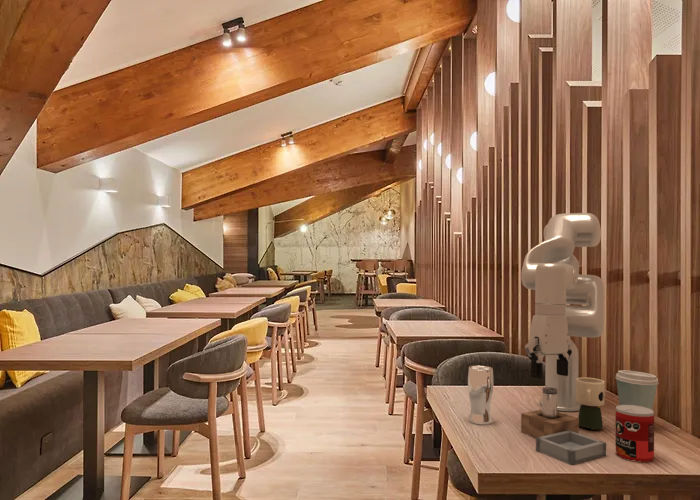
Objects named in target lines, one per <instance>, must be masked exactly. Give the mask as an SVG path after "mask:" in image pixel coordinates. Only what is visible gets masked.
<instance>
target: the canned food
mask: <svg viewBox="0 0 700 500" xmlns="http://www.w3.org/2000/svg"><path fill="white" fill-rule="evenodd" d="M615 453H616V455H617V456H618V457H619V456H620V458H621V457H622V458H621V459H624V458H625V459H624V460H626V459H629V460H628V461H630V460H635V461H641V462H640V463H649V462H648V461H650V462H651V461H652V462H653V460H654V457H655V412H654V410H653V409H652V410H651V409H649V408H646V407H641V406H635V405H620V404H618V405H616V406H615ZM635 461H634V462H635Z"/></svg>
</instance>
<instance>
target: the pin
mask: <svg viewBox="0 0 700 500" xmlns="http://www.w3.org/2000/svg"><path fill="white" fill-rule="evenodd" d="M541 392H542V393H541V394H542V396H541V397H542V398H541V399H542V405H541V406H542V408H541V410H542V417H545V418H548V419H551V420H552V419H557V412H558V410H557V389H556V388H551V387H542V391H541Z"/></svg>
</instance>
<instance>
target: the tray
mask: <svg viewBox="0 0 700 500" xmlns="http://www.w3.org/2000/svg"><path fill="white" fill-rule="evenodd" d="M535 451H537V452H538V453H541V454H545V455H547V456H549V457H552V458H553V459H556V460H559V461H562V462H564V463H566V464H568V465H571V466H573V465H576V464H581V463H584V462H587V461H591V460H594V459H598V458H599V459H600V458H602V457H606V456H607V442H605V441H602V440H599V439H596V438H593V437H591V436H587V435H584V434H582V433H580V432H579V433H576V432H573V431H570V430H568V431H564V432H559V433H555V434H550V435H546V436H541V437H537V438H535Z"/></svg>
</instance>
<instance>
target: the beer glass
mask: <svg viewBox="0 0 700 500" xmlns="http://www.w3.org/2000/svg"><path fill="white" fill-rule="evenodd" d="M467 389H468V390H467V391H468V397H469V401H470V402H469V403H470V413H469V417H468V421H469V422H470V423H471V424H475V425H481V426H485V425H490V424H491V423H492V417H491V404H492V398H493V394H494V370H493V367H491V366H487V365H470V366H469V367H468V375H467Z"/></svg>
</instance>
